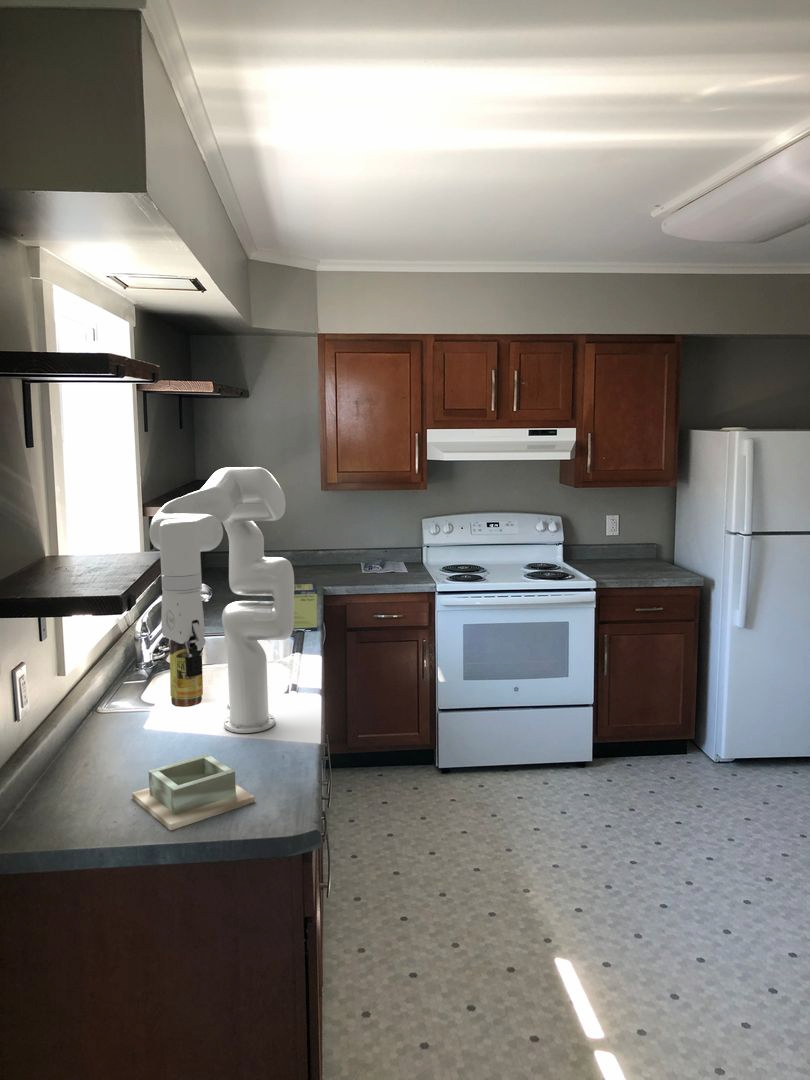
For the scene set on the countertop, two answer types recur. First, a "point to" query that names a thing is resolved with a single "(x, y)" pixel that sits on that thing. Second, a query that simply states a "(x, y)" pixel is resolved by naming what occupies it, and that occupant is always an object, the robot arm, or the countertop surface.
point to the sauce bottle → (183, 678)
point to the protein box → (305, 607)
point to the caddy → (191, 792)
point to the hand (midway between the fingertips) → (186, 670)
